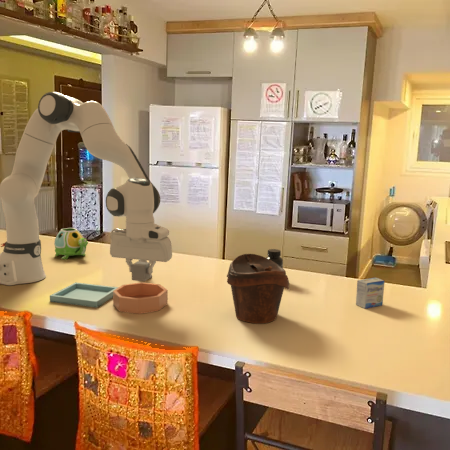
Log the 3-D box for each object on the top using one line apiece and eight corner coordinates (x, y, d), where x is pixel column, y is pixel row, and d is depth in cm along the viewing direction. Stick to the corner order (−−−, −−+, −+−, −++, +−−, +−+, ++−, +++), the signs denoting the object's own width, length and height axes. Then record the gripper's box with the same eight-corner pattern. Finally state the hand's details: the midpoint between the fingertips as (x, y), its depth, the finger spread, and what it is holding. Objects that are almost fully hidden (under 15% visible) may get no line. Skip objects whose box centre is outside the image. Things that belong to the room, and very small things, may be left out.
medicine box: (364, 309, 160) (366, 283, 159) (355, 304, 164) (357, 279, 163) (382, 305, 164) (385, 280, 162) (373, 301, 168) (375, 276, 166)
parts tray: (49, 301, 161) (49, 295, 161) (75, 287, 175) (75, 282, 175) (96, 307, 156) (96, 301, 156) (119, 293, 171) (119, 287, 170)
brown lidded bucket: (273, 333, 139) (275, 271, 136) (213, 318, 150) (214, 260, 147) (298, 315, 154) (301, 259, 151) (243, 302, 165) (244, 250, 162)
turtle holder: (73, 263, 207) (72, 235, 204) (48, 255, 218) (47, 229, 215) (97, 257, 216) (97, 230, 214) (73, 250, 227) (72, 225, 225)
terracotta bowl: (105, 309, 155) (105, 295, 154) (129, 293, 170) (129, 280, 169) (153, 315, 151) (153, 301, 150) (172, 299, 166) (172, 285, 165)
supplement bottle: (274, 285, 183) (276, 253, 181) (260, 281, 187) (261, 250, 185) (285, 281, 188) (287, 250, 186) (271, 277, 192) (272, 247, 190)
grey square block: (131, 280, 158) (131, 264, 157) (137, 276, 162) (137, 261, 161) (144, 281, 156) (144, 266, 155) (150, 277, 161) (150, 262, 160)
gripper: (105, 229, 156) (106, 272, 158) (166, 234, 150) (166, 278, 153) (115, 226, 162) (116, 267, 164) (173, 230, 156) (174, 272, 159)
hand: (141, 272), depth 159 cm, fingers closed on grey square block, 4 cm apart
